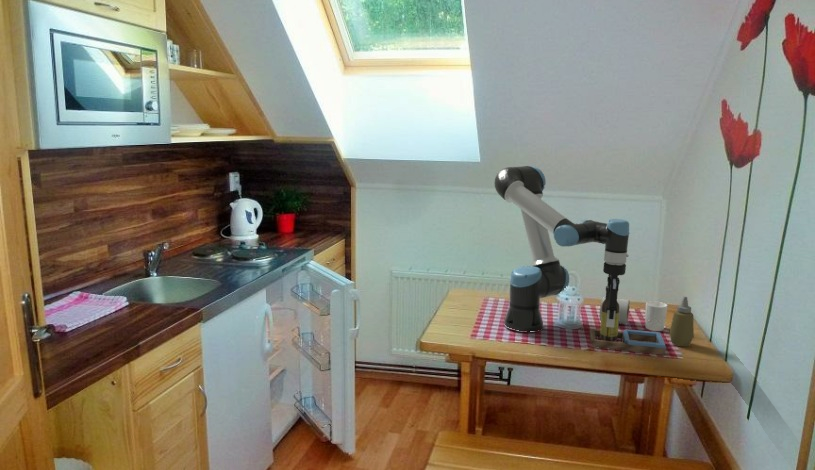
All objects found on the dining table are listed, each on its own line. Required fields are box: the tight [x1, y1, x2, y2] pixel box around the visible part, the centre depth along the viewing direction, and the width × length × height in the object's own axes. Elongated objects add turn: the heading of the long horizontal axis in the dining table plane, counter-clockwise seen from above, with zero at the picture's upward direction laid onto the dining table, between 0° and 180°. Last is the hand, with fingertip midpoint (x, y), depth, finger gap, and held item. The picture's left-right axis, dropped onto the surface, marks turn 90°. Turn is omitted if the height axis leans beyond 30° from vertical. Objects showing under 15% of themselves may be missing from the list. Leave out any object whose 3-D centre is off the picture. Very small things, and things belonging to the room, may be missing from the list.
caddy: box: [589, 328, 666, 356], centre depth 214 cm, size 25×13×4 cm, turn 75°
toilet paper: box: [599, 296, 631, 326], centre depth 237 cm, size 10×10×10 cm
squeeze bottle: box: [669, 296, 695, 348], centre depth 213 cm, size 8×8×18 cm
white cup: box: [644, 300, 668, 332], centre depth 231 cm, size 8×8×10 cm
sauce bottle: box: [599, 285, 620, 342], centre depth 214 cm, size 6×6×20 cm
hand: (609, 323), depth 215 cm, fingers closed on sauce bottle, 6 cm apart
